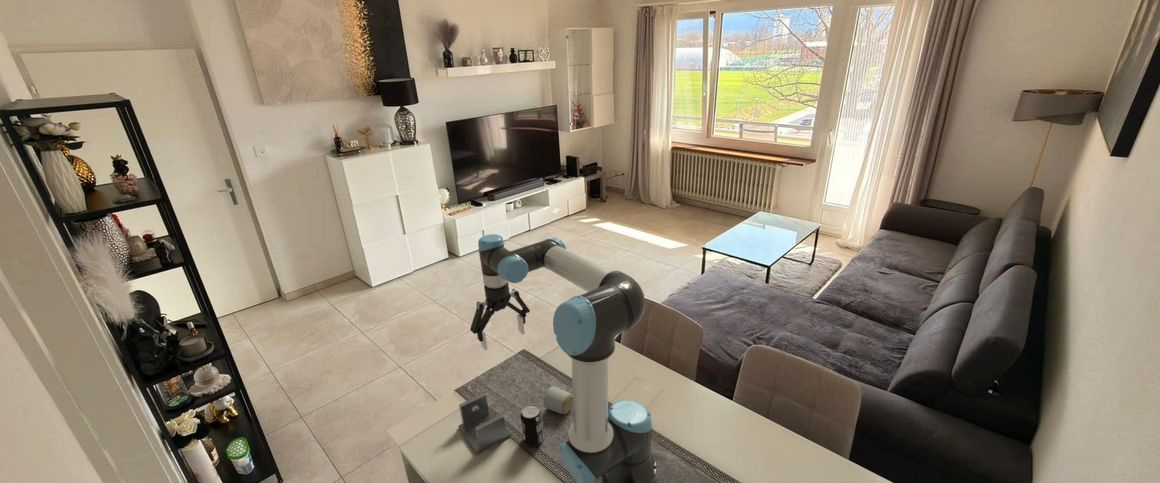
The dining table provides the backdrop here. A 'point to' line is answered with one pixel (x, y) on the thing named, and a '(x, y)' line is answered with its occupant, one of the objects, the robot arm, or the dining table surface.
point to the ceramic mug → (558, 400)
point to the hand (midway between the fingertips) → (503, 340)
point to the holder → (481, 424)
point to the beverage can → (532, 425)
